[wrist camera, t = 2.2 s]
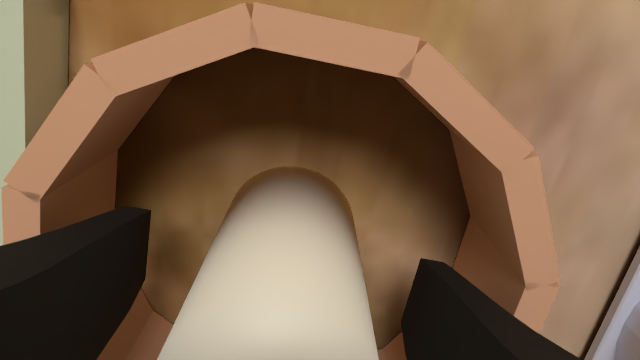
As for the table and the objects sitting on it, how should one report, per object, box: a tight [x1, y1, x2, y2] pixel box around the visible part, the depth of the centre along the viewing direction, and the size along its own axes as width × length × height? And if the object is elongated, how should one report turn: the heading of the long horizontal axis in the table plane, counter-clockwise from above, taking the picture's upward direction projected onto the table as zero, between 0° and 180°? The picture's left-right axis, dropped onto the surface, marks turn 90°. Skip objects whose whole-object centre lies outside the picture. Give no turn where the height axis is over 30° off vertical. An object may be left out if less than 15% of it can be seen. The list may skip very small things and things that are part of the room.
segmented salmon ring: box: [1, 2, 561, 360], centre depth 12 cm, size 13×13×4 cm
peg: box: [157, 167, 379, 360], centre depth 11 cm, size 4×4×7 cm
